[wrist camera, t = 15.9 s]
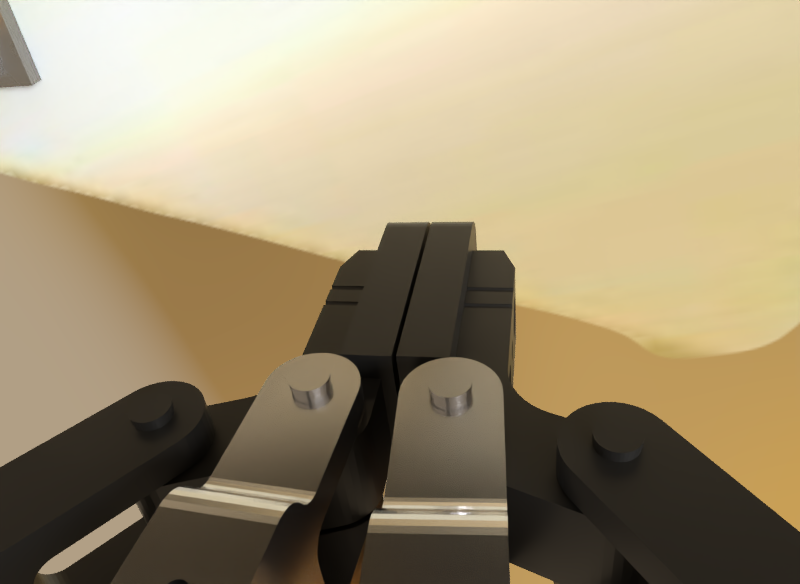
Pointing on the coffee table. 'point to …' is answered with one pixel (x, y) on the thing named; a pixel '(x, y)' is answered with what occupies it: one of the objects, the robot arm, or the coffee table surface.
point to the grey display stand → (14, 52)
